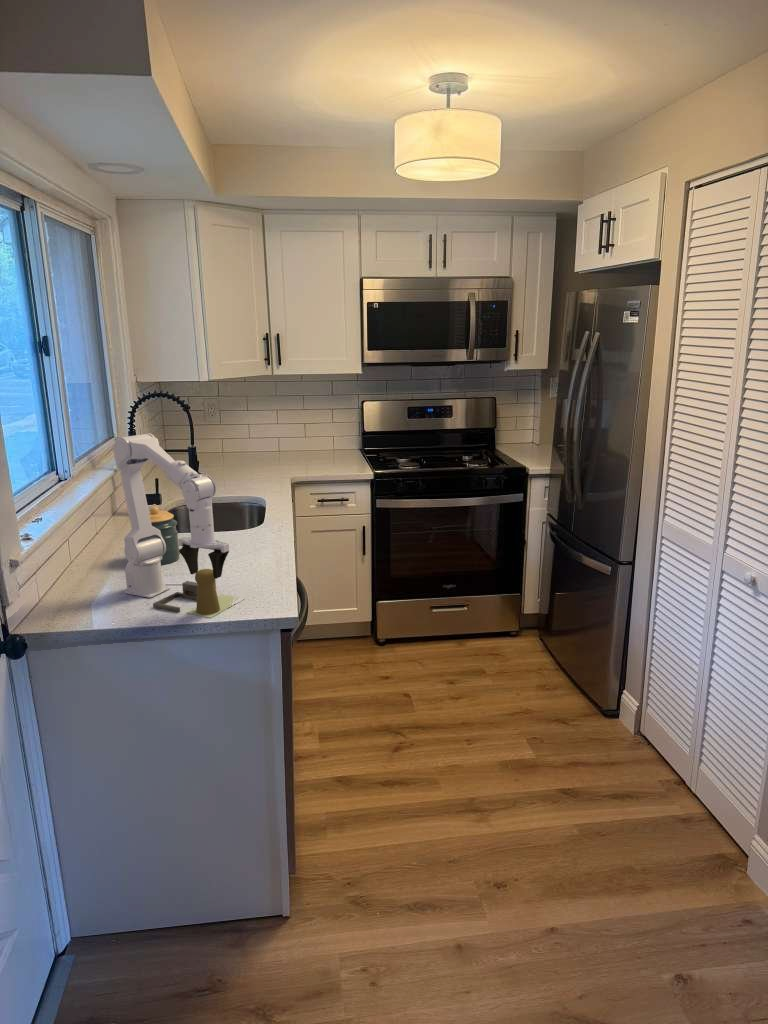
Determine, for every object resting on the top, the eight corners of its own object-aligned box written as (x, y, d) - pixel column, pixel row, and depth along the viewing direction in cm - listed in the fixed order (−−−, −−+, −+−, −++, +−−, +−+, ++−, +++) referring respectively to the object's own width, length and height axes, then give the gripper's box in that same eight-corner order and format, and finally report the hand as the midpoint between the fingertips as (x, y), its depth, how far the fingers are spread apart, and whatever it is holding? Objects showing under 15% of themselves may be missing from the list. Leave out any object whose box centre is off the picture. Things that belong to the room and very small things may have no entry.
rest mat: (186, 613, 175) (186, 612, 175) (220, 594, 187) (220, 594, 187) (211, 618, 171) (211, 617, 171) (244, 599, 184) (244, 598, 183)
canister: (167, 567, 210) (162, 512, 206) (129, 565, 213) (123, 510, 208) (187, 554, 222) (182, 502, 218) (151, 552, 225) (146, 500, 220)
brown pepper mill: (222, 605, 179) (219, 566, 176) (217, 614, 173) (214, 574, 170) (199, 606, 179) (195, 566, 176) (193, 615, 173) (190, 574, 170)
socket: (153, 607, 178) (151, 593, 177) (191, 589, 192) (190, 575, 191) (178, 612, 175) (176, 598, 174) (215, 593, 188) (214, 579, 187)
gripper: (168, 525, 170) (173, 576, 174) (214, 531, 164) (218, 584, 168) (187, 518, 176) (191, 567, 180) (232, 524, 170) (236, 575, 174)
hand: (205, 575), depth 174 cm, fingers open, 7 cm apart
